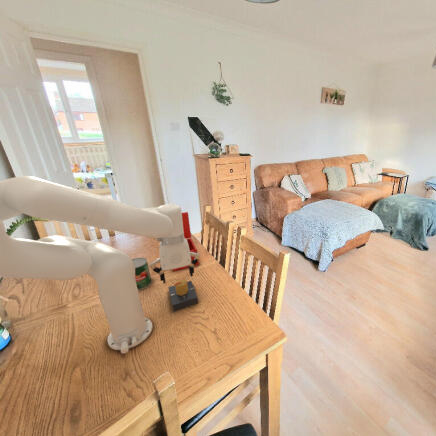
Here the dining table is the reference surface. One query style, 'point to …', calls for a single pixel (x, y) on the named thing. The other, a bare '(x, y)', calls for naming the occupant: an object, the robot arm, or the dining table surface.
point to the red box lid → (186, 225)
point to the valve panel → (183, 297)
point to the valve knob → (181, 287)
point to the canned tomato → (142, 273)
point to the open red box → (192, 249)
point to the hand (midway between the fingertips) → (178, 278)
